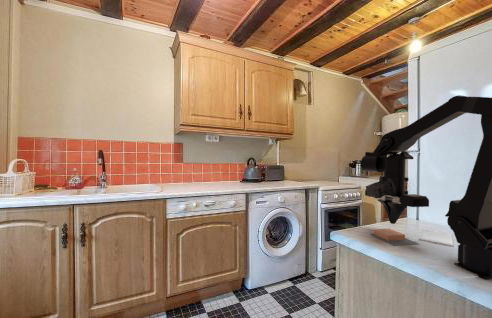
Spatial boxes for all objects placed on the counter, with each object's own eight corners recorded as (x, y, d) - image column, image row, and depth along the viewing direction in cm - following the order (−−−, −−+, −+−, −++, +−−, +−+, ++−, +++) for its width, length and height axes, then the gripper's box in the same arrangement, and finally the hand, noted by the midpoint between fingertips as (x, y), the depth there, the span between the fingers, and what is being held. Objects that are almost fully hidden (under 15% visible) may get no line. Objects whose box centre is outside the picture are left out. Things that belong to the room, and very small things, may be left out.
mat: (420, 245, 68) (420, 244, 68) (393, 247, 66) (393, 245, 66) (392, 234, 77) (392, 232, 77) (369, 235, 76) (369, 234, 76)
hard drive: (420, 228, 80) (418, 238, 71) (452, 234, 75) (454, 245, 66) (420, 233, 80) (418, 243, 71) (452, 239, 75) (454, 250, 66)
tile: (404, 234, 71) (389, 228, 77) (388, 235, 70) (373, 229, 76) (404, 239, 71) (389, 233, 77) (387, 240, 70) (373, 234, 76)
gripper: (351, 171, 79) (350, 216, 80) (396, 176, 61) (394, 235, 61) (380, 171, 81) (378, 215, 82) (431, 176, 63) (429, 233, 63)
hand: (392, 223), depth 72 cm, fingers closed
